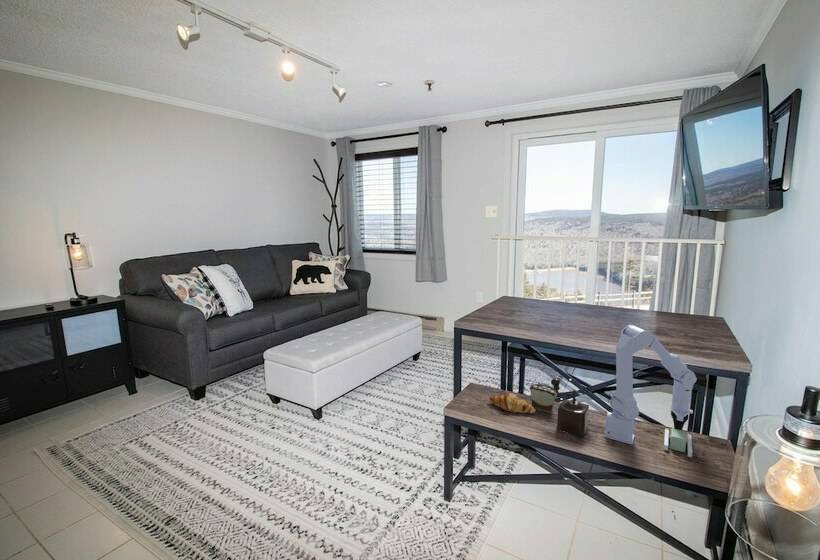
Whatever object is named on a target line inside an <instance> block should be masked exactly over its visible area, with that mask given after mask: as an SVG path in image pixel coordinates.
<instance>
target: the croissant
mask: <svg viewBox="0 0 820 560" xmlns="http://www.w3.org/2000/svg"><path fill="white" fill-rule="evenodd" d="M489 401H490V402H491V403H492V404H493V405H494V406H495V407H497V406H498V407H497V408H499V407H500V408H499V409H501V410H503V409H504V411H506V410H507V412H510V411H511V412H510V413H516V412H518V413H520V414H526V413H527V414H534V413H536V412H537V411H536V408H534V407H533V406H532V405H531V403H528V402H527V400H525V399H524V398H520V397H518V396H517V395H516V394H514V393H511V392H507V393H506V394H505V395H504V394H500V395H499V396H497V395H493V396H489Z"/></svg>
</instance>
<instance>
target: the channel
mask: <svg viewBox="0 0 820 560" xmlns="http://www.w3.org/2000/svg"><path fill="white" fill-rule="evenodd" d="M669 431H670V430H669V429H668V428H665V429H664V435H663V436H664V439H663V440H664V441H663V450H664V451H667V452H668V450H669V439H671V433H669ZM692 440H693V439H692V434H689V433H686V448H687V450H686V452H687V457H689V458H693V443H692Z"/></svg>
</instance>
